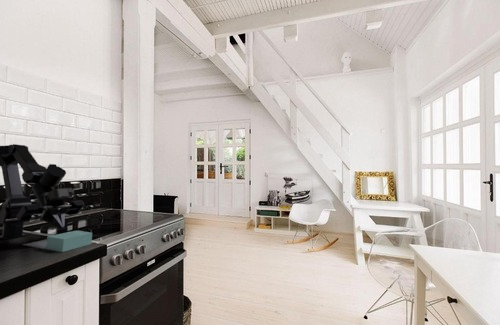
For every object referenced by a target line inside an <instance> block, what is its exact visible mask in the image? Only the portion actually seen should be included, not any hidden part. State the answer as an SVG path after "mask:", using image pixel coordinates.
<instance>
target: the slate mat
mask: <svg viewBox="0 0 500 325" xmlns="http://www.w3.org/2000/svg"><path fill="white" fill-rule="evenodd" d="M21 245H22V246H27V247H32V248H37V249H41V250H47V251H51V252H56V253H57V252H58V253H60V252H61V251H56V250H51V249H46V247H47V238H45V239H42V240H37V241H32V242H27V243H22V244H21Z"/></svg>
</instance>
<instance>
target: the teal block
mask: <svg viewBox="0 0 500 325" xmlns="http://www.w3.org/2000/svg"><path fill="white" fill-rule="evenodd" d="M46 239H47V247H46V249H45V250H47V249H51V250H50V251H52V250H56V251H55V252H57V251H61V252H62V253H63V252H66V251H67V252H68V251H71V250H75V249H79V248H82V247H86V246H89V245H92V240H93V232H91V231H90V232H89V231H83V230H73V231H67V232H63V233H59V234H53V235H48V236H47V238H46Z"/></svg>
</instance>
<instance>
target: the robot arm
mask: <svg viewBox="0 0 500 325" xmlns="http://www.w3.org/2000/svg"><path fill="white" fill-rule="evenodd" d="M18 164H19V165H18ZM19 166H20V168H21V169H22V174H21V175H20V170H19ZM0 167H1V171H2V177H3V184H4V190H5V196H6V199H5V201H4V202H3V203H2V206H1V209H0V224H3V227H2V235H0V239H2V240H9V239H16V238H22V237H26V236H28V234H27V233H23V232H24V225H25V224H24V222H29V221H30V220H32V218H33V216H36V215H37V216H38V215H40V216H41V217H40V218H39V220H40V221H42V222H46V223H47V224H50V225H53V226H54V227H55V228H57V229H59V230H63V229H64V228H65V225H66V224H65V221H66V220H65V219H66V215H68V216H74V215H78V214H79V213H80V212H81V211H82V209H83V208H84V207H85V202H84V201H83V200H71V201H70V202H68V203H69V204H65V203H66V200H67V199H68V198H72V197H73V196H74V195H75V190H74V189H73V188H72V187H65V188H55V187H57V186H59V184H60V183H61V182H62V180H63V178H64V177H65V176H66V174H67V171H66V170H65V169H63V168H62V167H60V166H57V164H53V163H49V164H48V165H47V167H45V166H43V165H41V164H39V162H37V160H36V159H35V157H34V156H33V155H32V153H31V152H30V151H29V147H28V146H27V145H23V144H22V145H21V144H16V143H15V144H14V143H12V144H9V145H0ZM21 178H22V181H23V182H24V184H26V185H33V186H32V187H31V190H30V195H35V198H36V203H33V204H32V200H31V199H32V198H31V197H30V196H28V197H27V196H25V195H24V191H23V184H22V181H21Z"/></svg>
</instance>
